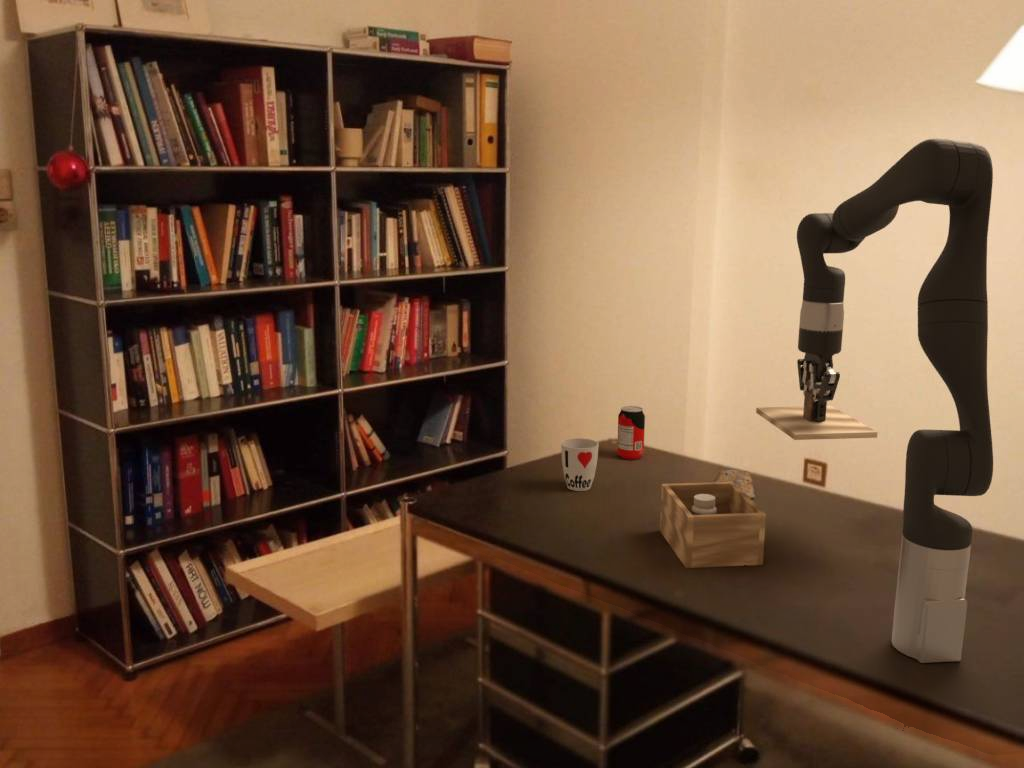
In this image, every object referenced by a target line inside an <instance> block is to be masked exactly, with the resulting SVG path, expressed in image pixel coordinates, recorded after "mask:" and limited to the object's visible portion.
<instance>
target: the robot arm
mask: <svg viewBox="0 0 1024 768" xmlns="http://www.w3.org/2000/svg"><path fill="white" fill-rule="evenodd" d="M993 170H994V169H993V162H992V157H991V154H990V153H989V150H988V149H987V148H986V147H985V146H983V145H981V144H979V143H975V142H970V141H969V142H968V141H960V140H953V139H952V140H951V139H947V138H945V139H944V138H929V139H925V140H923V141H921V142H919V143H917V144H916V145H914V146H913V147H912V148H911V149H909V150H908V151H907V152H906V153H905V154H903V156H902V157H901V158H900V159H899V160H898V161H896V162H895V163H894V164H893V165H892V166H891V167H890V168H888V169H887V171H885V172H884V173H883V174H882V175H881V176H880V177H879V178H878V179H877V180H876V181H875V182H873V183H871V185H870V186H868V187H867V188H865V189H863V190H862V191H860V192H858V193H856V194H855V195H854V196H851V197H849V198H847V199H846V200H845V201H843V202H841V203H840V204H839V205H838V206H837V207H836V208H835V210H834V211H833V212H832V213H831V212H824V213H821V212H815V213H808V214H807V215H805V216H804V217H803V218H801V220H800V222H799V224H798V227H797V229H796V241H797V242H796V243H797V246H798V251H799V255H800V261H801V267H802V273H803V279H804V280H803V290H802V291H803V292H802V303H801V308H800V310H799V311H800V312H799V326H798V337H797V338H798V339H797V340H798V341H797V350H798V351H799V352H801V353H803V354H805V355H804V358H798V359H797V361H796V363H797V373H798V382H799V384H798V385H799V390H800V391H802V392H803V393H802V394H803V396H804V397H805V391H813V400H814V401H813V411H812V420H813V421H814V422H823V421H824V420H825V412H826V402H827V403H828V402H830V401H833V400H834V398H835V394H836V391H837V388H838V384H839V381H840V378H841V374H840V372H838V371H837V372H836V371H834V362H833V357H834V355H838V354H839V353H841V351H842V347H843V346H842V345H843V344H842V343H843V332H844V320H845V319H844V318H845V309H844V299H845V286H846V273H845V271H844V270H843V269H842V268H839V267H835V266H829V265H827V263H826V261H825V257H824V256H825V255H824V254H844V253H848V252H849V253H850V252H851V251H853V250H856V249H857V248H858V247H859V246H860V244H862V242H863V241H864V240H865V239H866V238H867V237H869V236H871V235H873V234H875V233H878V232H879V231H882V230H884V229H885V228H886V227H888V225H890V224H891V223H892V222H893V221H894V220H895V218H896V216H897V214H898V212H899V208H900V206H901V205H905V204H907V203H913V202H923V203H926V204H931V205H932V204H933V205H941V206H942V205H943V206H948V210H949V222H948V223H949V225H948V232H947V233H948V234H947V237H946V238H947V239H946V243H945V246H944V247H943V249H942V251H941V253H940V254H939V256H938V257H937V259H936V261H935V262H934V263H933V265H932V267H931V269H930V270H929V272H928V273H927V274H926V277H925V279H924V281H923V282H922V284H921V286H920V289H919V292H918V295H917V338H918V341H919V344H920V346H921V349H922V351H923V352H924V354H925V356H926V358H927V359H928V361H929V362H930V363H931V365H932V366H933V367H934V368H933V369H935V371H936V372H937V373H938V374H939V376H940V378H941V379H942V381H943V382H944V384H945V386H946V387H947V389H948V390H949V393H950V395H951V397H952V399H953V401H954V405H955V409H956V411H957V416H958V422H959V424H958V425H959V430H958V429H957V430H951V429H918V430H915V431H914V432H913V433H912V434H911V436H910V438H909V440H908V443H907V447H906V453H905V454H906V455H905V456H906V457H905V473H904V474H905V476H904V478H905V480H904V482H905V483H904V497H903V509H902V514H903V517H902V519H903V520H902V531H901V542H900V550H899V551H900V553H899V562H898V572H897V583H896V589H895V590H896V592H895V602H894V611H893V612H894V614H893V622H892V623H893V624H892V633H891V644H892V646H893V648H895V649H896V651H898V652H899V653H901V654H903V655H905V656H907V657H910V658H913V659H915V660H917V661H918V662H919V663H921V664H927V663H928V664H929V663H943V662H944V663H946V662H960V661H962V653H963V652H962V651H963V643H964V642H963V641H964V633H965V627H966V625H965V624H966V616H967V608H968V600H967V599H966V598H965V597H966V589H967V582H968V571H969V565H970V559H971V558H970V557H971V556H970V555H971V548H972V542H973V525H972V524H971V523H970V522H969V521H968V519H967V518H965V517H963V516H961V515H959V514H957V513H955V512H952V511H949V510H947V509H944V508H942V507H939V506H938V505H936V504H935V496H957V497H960V496H961V497H979V496H983V495H985V494H986V493H987V492H988V491H989V489H990V486H991V484H992V480H993V475H994V452H993V448H994V447H993V439H992V438H993V437H992V426H991V415H990V413H991V412H990V405H989V403H990V401H989V393H988V392H989V390H988V389H989V388H988V335H989V324H988V323H989V321H988V318H989V317H988V316H989V314H988V313H989V311H988V310H989V309H988V307H989V306H988V305H989V303H988V302H989V301H988V287H987V286H988V285H987V284H988V282H987V279H988V278H987V274H988V271H987V270H988V267H987V266H988V261H987V260H988V259H987V258H988V236H989V235H988V234H989V226H990V225H989V223H990V215H991V214H990V211H991V204H992V195H993V194H992V193H993V184H994V183H993V182H994V181H993V179H994V176H993V175H994V171H993ZM818 391H819V393H818Z"/></svg>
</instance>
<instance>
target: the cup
mask: <svg viewBox="0 0 1024 768" xmlns="http://www.w3.org/2000/svg"><path fill="white" fill-rule="evenodd" d="M560 444H561V445H560V446H561V447H560V448H561V449H560V450H561V463H562V470H563V471H562V472H563V477H564V480H565V484H566V487H567V489H569V490H571V491H576V492H583V491H584V492H585V491H589V490H590V489H591V487H592V485H593V481H594V479H595V475H596V472H597V471H596V469H597V464H598V457H599V447H600V445H599V442H598V441H597V440H594V439H590V438H583V437H582V438H580V437H579V438H577V437H576V438H574V437H573V438H567V439H564V440H562V441H561V443H560Z"/></svg>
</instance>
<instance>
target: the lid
mask: <svg viewBox="0 0 1024 768" xmlns="http://www.w3.org/2000/svg"><path fill="white" fill-rule="evenodd" d="M818 393H819V391H818ZM803 399H804V400H803V401H804V402H803V406H799V405H798V406H770V407H769V406H767V407H766V406H764V407H763V406H762V407H761V406H759V407H756V409H755V411H756V412H755V413H756V414H757V415H759V417H762V418H763V419H764V420H766V421H767V422H769V423H770V424H771V425H773V426H774V427H775V428H777V429H779V430H780V431H781V432H783V433H784V434H786V435H787V436H789V437H790V438H791V439H792V440H793V441H802V440H803V441H804V440H806V441H808V440H809V441H810V440H835V439H836V440H837V439H841V440H842V439H843V440H844V439H870V438H871V439H872V438H874V439H875V438H878V431H876V430H875V429H873V428H871V427H869V426H868V425H866V424H864V423H862V422H860V421H859V420H858V419H855V418H853V417H852V416H850V415H849V414H846V413H845V412H843V411H841V410H840V409H838V408H836V407H834V406H833V405H827V404H828V402H826V412H825V420H824V421H823V422H814V421H813V420H812V411H813V401H814V400H813V391H805V396H804V398H803Z"/></svg>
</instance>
